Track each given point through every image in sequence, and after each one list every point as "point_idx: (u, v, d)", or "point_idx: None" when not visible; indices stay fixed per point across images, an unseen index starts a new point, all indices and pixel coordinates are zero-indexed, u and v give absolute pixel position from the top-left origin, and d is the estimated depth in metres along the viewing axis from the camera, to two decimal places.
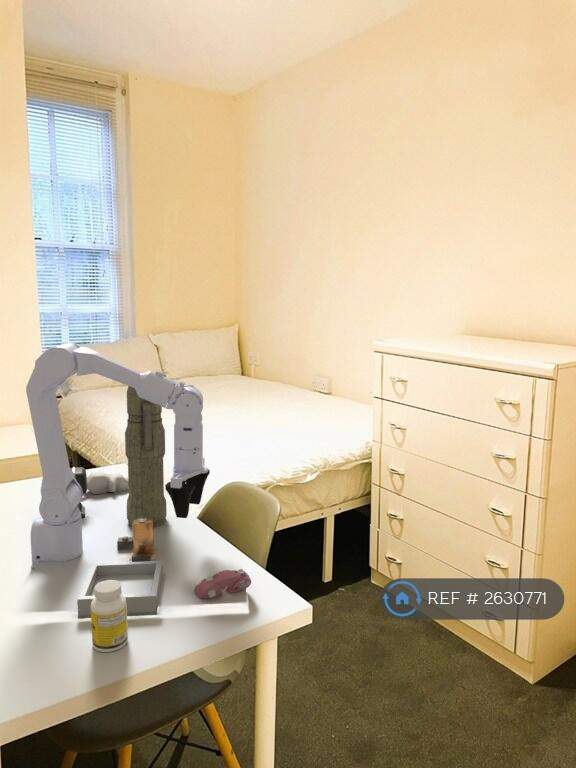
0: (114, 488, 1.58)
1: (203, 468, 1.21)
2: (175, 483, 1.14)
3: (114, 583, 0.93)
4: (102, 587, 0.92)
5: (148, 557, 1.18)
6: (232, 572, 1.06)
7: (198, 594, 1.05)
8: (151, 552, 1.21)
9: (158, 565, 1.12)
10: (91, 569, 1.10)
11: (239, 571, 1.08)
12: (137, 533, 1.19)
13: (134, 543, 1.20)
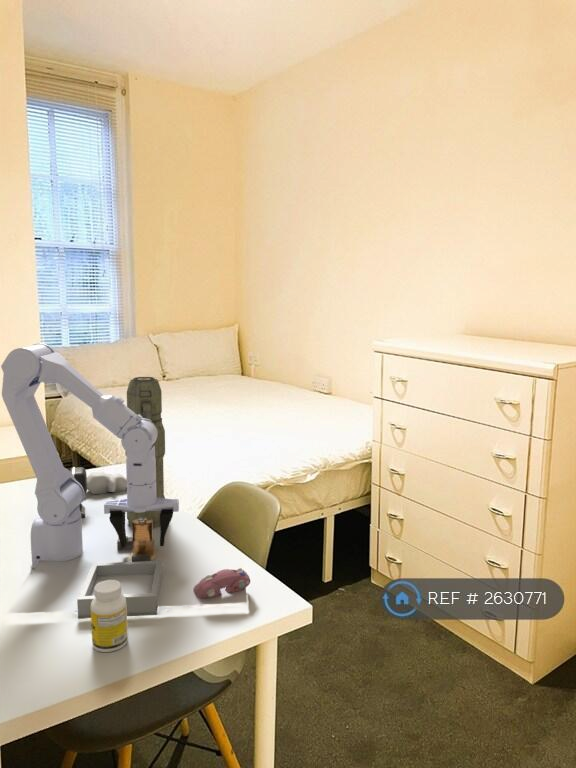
0: (114, 488, 1.58)
1: (140, 507, 1.17)
2: None
3: (114, 583, 0.93)
4: (102, 587, 0.92)
5: (148, 557, 1.18)
6: (231, 571, 1.06)
7: (197, 593, 1.06)
8: (151, 552, 1.21)
9: (158, 565, 1.12)
10: (91, 569, 1.10)
11: (238, 570, 1.08)
12: (137, 533, 1.19)
13: (134, 543, 1.20)
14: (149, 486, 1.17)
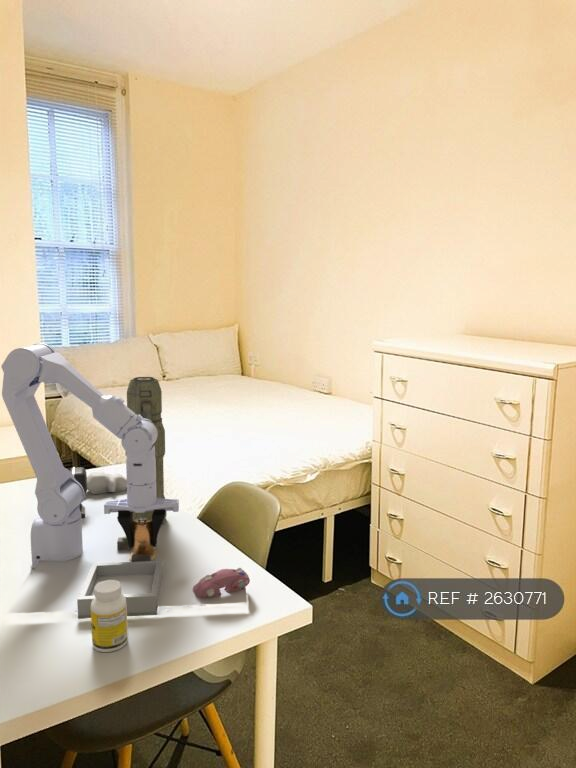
0: (114, 488, 1.58)
1: (140, 507, 1.17)
2: None
3: (114, 583, 0.93)
4: (102, 587, 0.92)
5: (148, 557, 1.18)
6: (231, 571, 1.07)
7: (197, 593, 1.06)
8: (151, 552, 1.21)
9: (158, 565, 1.12)
10: (91, 569, 1.10)
11: (238, 570, 1.08)
12: (137, 533, 1.19)
13: (134, 543, 1.20)
14: (149, 486, 1.17)
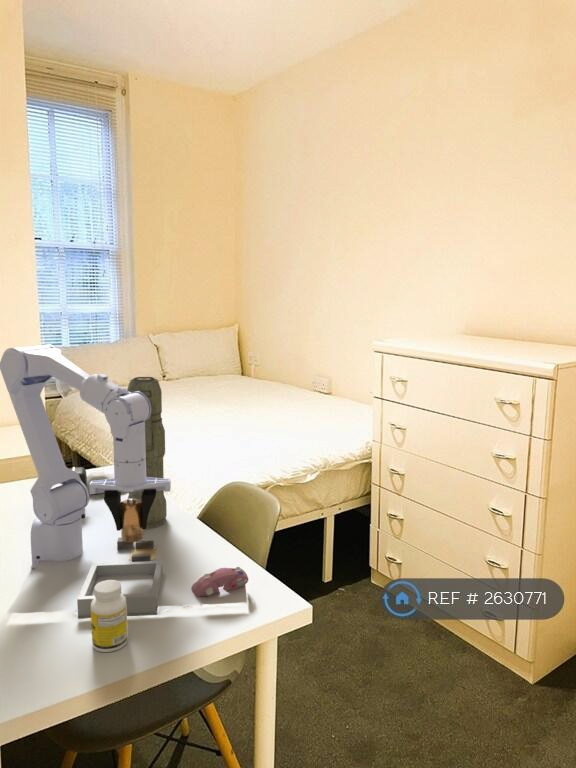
0: None
1: (129, 487, 1.08)
2: None
3: (114, 583, 0.93)
4: (102, 587, 0.92)
5: (148, 557, 1.18)
6: (229, 570, 1.07)
7: (196, 592, 1.06)
8: (141, 535, 1.12)
9: (158, 565, 1.12)
10: (91, 569, 1.10)
11: (236, 569, 1.08)
12: (125, 514, 1.10)
13: (122, 525, 1.11)
14: (138, 464, 1.08)
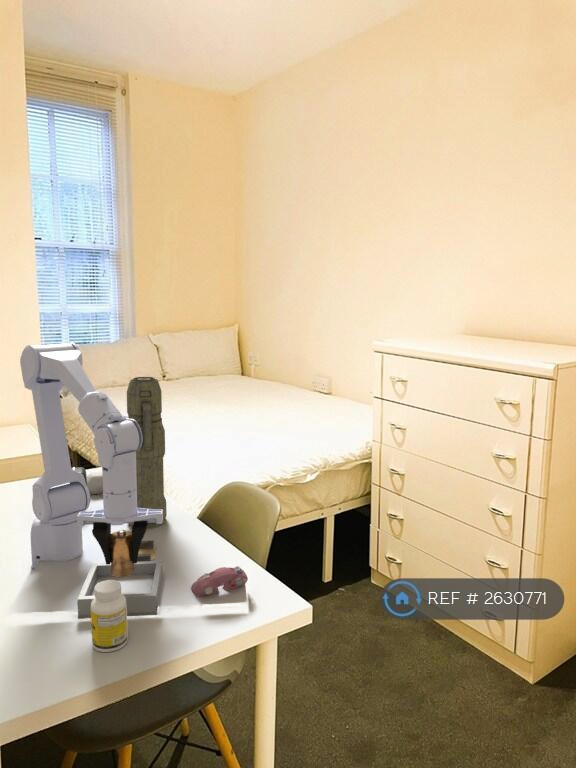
0: None
1: (118, 519, 1.02)
2: None
3: (114, 583, 0.93)
4: (102, 587, 0.92)
5: (148, 557, 1.18)
6: (229, 569, 1.07)
7: (195, 591, 1.06)
8: (131, 569, 1.06)
9: (158, 565, 1.12)
10: (91, 569, 1.10)
11: (235, 568, 1.09)
12: (115, 547, 1.04)
13: (112, 559, 1.05)
14: (128, 495, 1.03)
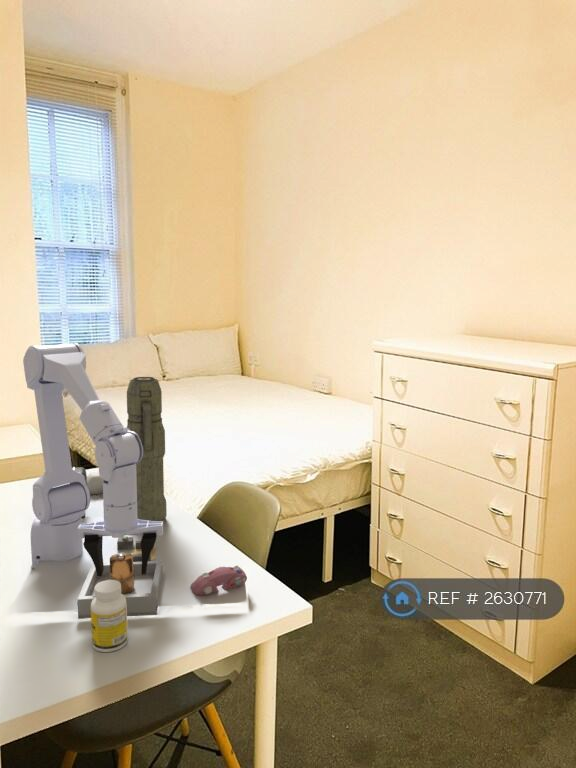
0: None
1: (118, 532, 1.02)
2: None
3: (114, 583, 0.93)
4: (102, 587, 0.92)
5: None
6: (228, 569, 1.07)
7: (194, 591, 1.06)
8: None
9: (158, 565, 1.12)
10: (91, 569, 1.10)
11: (235, 568, 1.09)
12: (115, 571, 1.05)
13: None
14: (129, 507, 1.03)
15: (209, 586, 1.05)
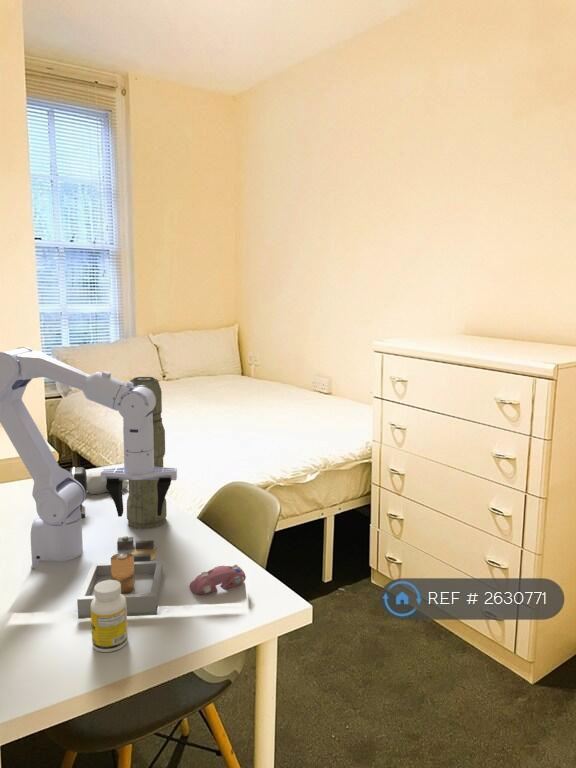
0: None
1: (137, 475, 1.14)
2: None
3: (114, 583, 0.93)
4: (102, 587, 0.92)
5: (148, 557, 1.18)
6: (227, 568, 1.08)
7: (193, 590, 1.07)
8: None
9: (158, 565, 1.12)
10: (91, 569, 1.10)
11: (234, 567, 1.09)
12: (115, 571, 1.05)
13: None
14: (146, 453, 1.15)
15: (208, 585, 1.05)
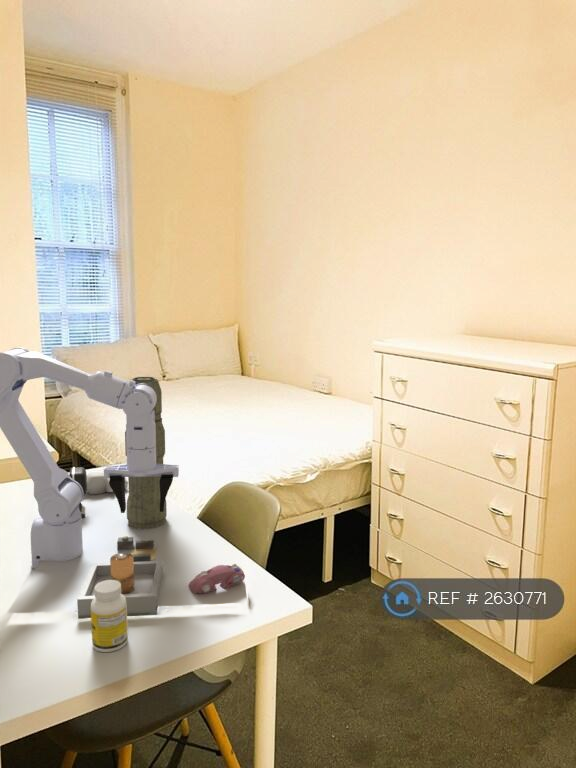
0: None
1: (140, 472, 1.16)
2: None
3: (114, 583, 0.93)
4: (102, 587, 0.92)
5: (148, 557, 1.18)
6: (226, 567, 1.08)
7: (193, 589, 1.07)
8: None
9: (158, 565, 1.12)
10: (91, 569, 1.10)
11: (233, 566, 1.09)
12: (115, 571, 1.05)
13: None
14: (149, 450, 1.17)
15: (207, 584, 1.06)
